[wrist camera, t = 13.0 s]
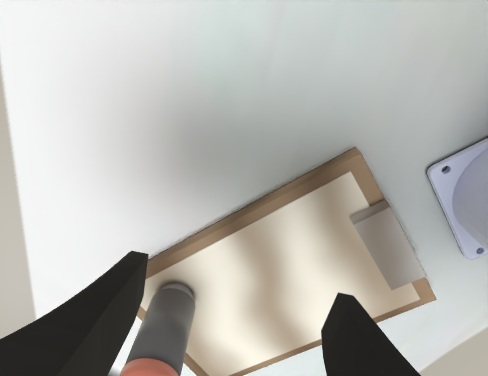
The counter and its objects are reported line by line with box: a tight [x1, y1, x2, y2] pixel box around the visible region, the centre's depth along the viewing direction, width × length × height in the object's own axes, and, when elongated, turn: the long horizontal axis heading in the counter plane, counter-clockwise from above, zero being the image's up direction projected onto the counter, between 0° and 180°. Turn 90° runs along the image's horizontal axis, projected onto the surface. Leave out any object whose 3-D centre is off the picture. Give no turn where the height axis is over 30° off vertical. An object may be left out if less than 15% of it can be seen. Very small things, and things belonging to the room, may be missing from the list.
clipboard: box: [137, 147, 436, 376], centre depth 24 cm, size 20×13×2 cm, turn 123°
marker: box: [120, 282, 196, 376], centre depth 21 cm, size 3×3×8 cm
